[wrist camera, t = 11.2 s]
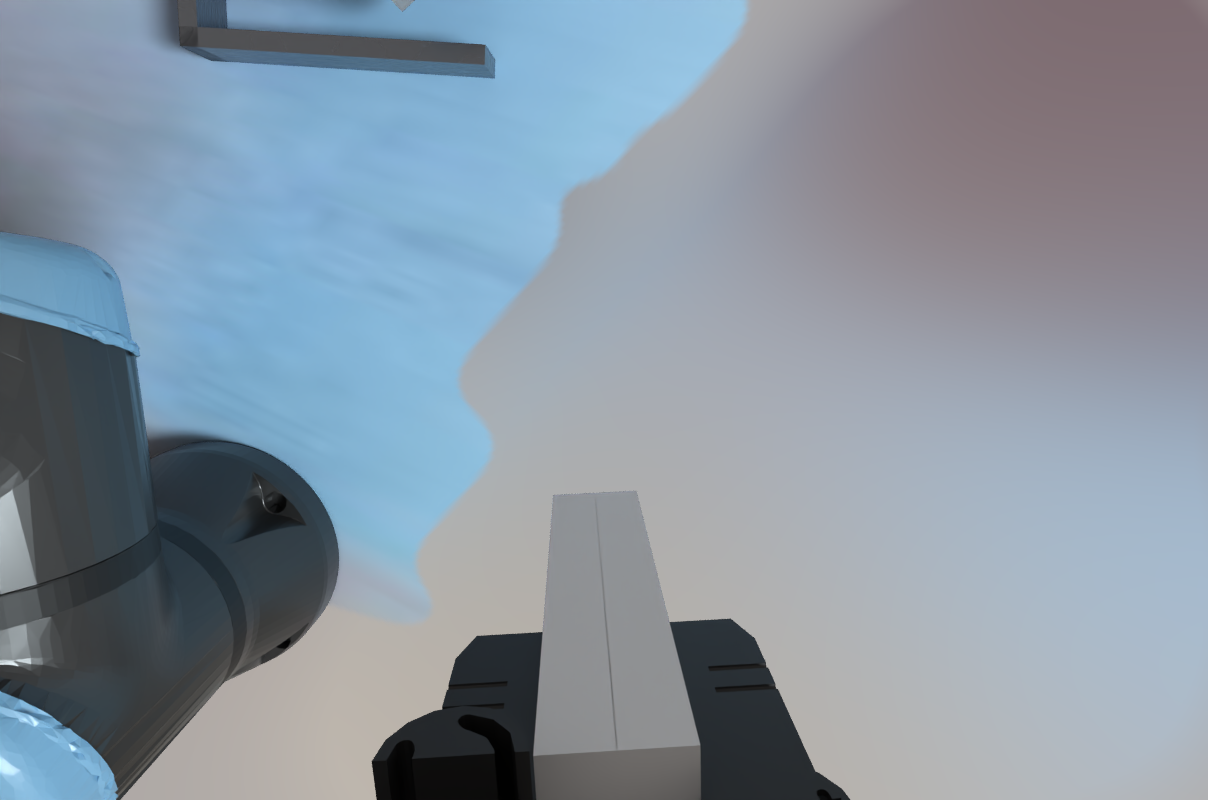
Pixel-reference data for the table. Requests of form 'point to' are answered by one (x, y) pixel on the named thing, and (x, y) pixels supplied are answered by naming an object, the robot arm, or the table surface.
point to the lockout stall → (323, 47)
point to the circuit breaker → (402, 4)
